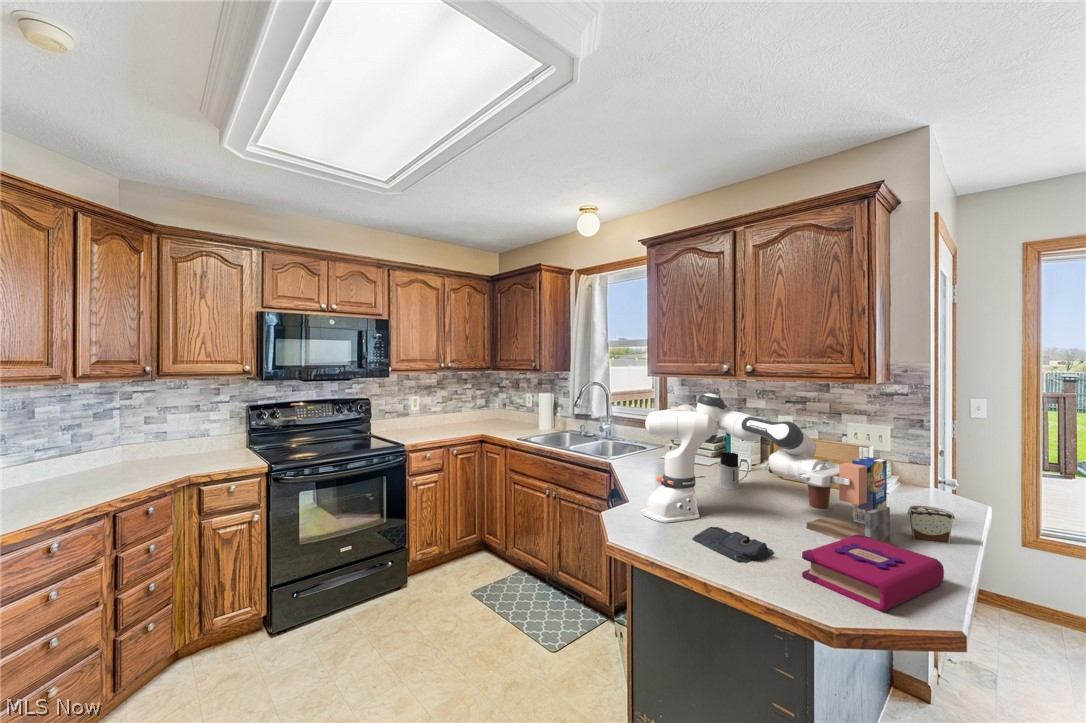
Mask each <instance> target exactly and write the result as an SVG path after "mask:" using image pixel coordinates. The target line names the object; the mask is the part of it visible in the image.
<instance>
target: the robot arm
mask: <svg viewBox="0 0 1086 723" xmlns="http://www.w3.org/2000/svg"><path fill="white" fill-rule="evenodd" d="M696 404H697V405H696V407H694V406H693V405H691V404H681V405H679V406H677V407H674V408H668V409H664V410H663V409H662V410H655V411H650V412H649V413H648V415H647V416H646V418H645V422H644V423H645V426H644V427H645V429H646V431H647V433H648V434H649V435H650V437H655V438H658V439H662V440H663V439H664V440H678V441H680V444H679V445H678V446H675V447H673V448H671V449H669V450H668V451H667V452H666V453H665V454H664V473H663V475H662V476H660V475H658V476H656V482H659V483H660V484H659V486H658V487H657V488H656V489H655V490H654V491H653V493H651V494H650V495H649V497H648V498H647V503H646V504H647V505H646V506H647V507H645V508H642V509H641V510H640V513H641V515H643V516H645V517H646V518H648V519H651V520H654V521H656V522H660V523H676V522H683V521H690V520H695V519H700V514H699V513H700V512H699V509H698V502H697V494H696V489H695V487H696V475H695V461H696V456H697V453H698V450H699V449H700V447H701V446H702V445H703V444H710V443H714V442H715V441H716V439H717V437H718V432H719V429H721V430H722V431H723V432H725V433H726V434H727V435H731V437H734V438H736V439H739V440H741V441H746V442H752V443H753V442H756V441H758V440H759V439H761V437H764V438H768V439H769V440H771V442H772V443H773V444H774V445H776V446H778V447H779V449H778V450H777V451H775V452H773V453H771V454H769V457H768V465H769V469H770V470H771V472H773V474H775V475H777V476H779V477H782V478H786V479H790V480H797V481H800V482H802V483H805V484H806V483H809V484H814V485H818V486H829V485H833V486H834V485H835V484H836V485H837V484H838V485H839V484H846V485H850V484H852V480H851V479H848V478H840V477H839V463H835V462H833V461H831V460H827V459H817V458H816V459H815V458H814V455H815V454H816V450H817V445H816V442H815V440H813V439H812V438H811V436H809V435H808V434H807V433H805V432H804V431H803V430H802V429H801V428H800V427H799V426H798V425H797V424H796V423H794V422H792V421H789V420H785V421H771V420H767V419H762V418H758V417H756V416H754V415H751V414H748V413H745V412H740V411H733V410H728V409H726V408H728V405H727V404H725V400H723V398H722V397H721V396H719V395H717V394H715V393H711V392H710V393H702V394H700V395H699V397H698V399H697V403H696Z"/></svg>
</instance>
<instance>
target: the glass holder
mask: <svg viewBox="0 0 1086 723" xmlns="http://www.w3.org/2000/svg"><path fill="white" fill-rule="evenodd" d="M742 462H745V463H746V464H747V469H746V470H747V471H746V473H745V474H744V476H743V477H742V478H741V479H739V478H740V477H739V476H740V474H739V473H740V472H739V469H741V467H742ZM719 465H720V467H719V469H720V471H719V474H720V475H719V477H720V478H719V485H718V486H719V487H720V488H722V489H725V490H740V488H741V487H740V485H739V483H740V482H741V481H743V480H744V479H746V477H747V476H748V474H749V471H750V464H749V462H748V461H747V460H745V459H741V460H740V462H739V453H735V452H721V453H720V462H719Z"/></svg>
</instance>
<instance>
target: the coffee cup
mask: <svg viewBox="0 0 1086 723" xmlns="http://www.w3.org/2000/svg"><path fill="white" fill-rule="evenodd" d="M805 484H806V485H807V492H808V503H809V506H808V507H809V508H810V509H812V510H814V511H818V512H819V511H820V512H821V511H822V512H826V511H829V507H830V495H831V488H832V487H833V486H834V484H833V485H829V486H818V485H814V484H809V483H805Z"/></svg>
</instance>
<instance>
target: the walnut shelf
mask: <svg viewBox="0 0 1086 723" xmlns="http://www.w3.org/2000/svg"><path fill="white" fill-rule="evenodd" d="M890 509H891V508H890V506H887V507H886V506H883V507H880V508H877V509H874V510H871V511H868V512H865V524H864V526H860V525H857V524H854V523H853V524H852V523H849V522H846V521H843V520H839V519H835V518H832V517H829V516H824V517H820V518H818V519H814V520H810V521H807V522H806V529H808V530H810V531H813V532H816V533H820V534H823V535H826V536H829V537H832V538H835V539H838V540H843V539H846V538H849V537H850V536H853V535H858V534H859V535H864V536H867V537H870V538H872V539H875V540H878V541H881V542H884V543H887V544H888V543H889V542H891V541H890V538H891V537H890V535H891V533H890V531H891V530H890V528H891V519H890V518H891V517H890V516H891V515H890V513H891V511H890Z"/></svg>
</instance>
